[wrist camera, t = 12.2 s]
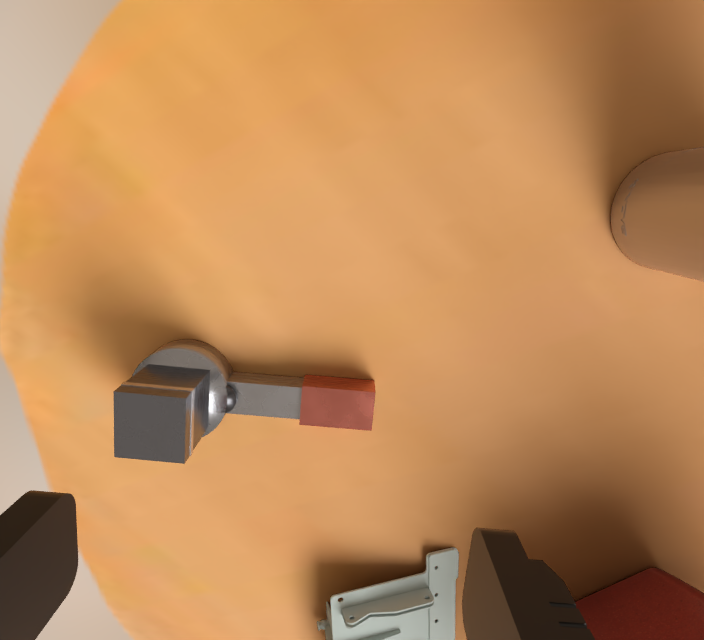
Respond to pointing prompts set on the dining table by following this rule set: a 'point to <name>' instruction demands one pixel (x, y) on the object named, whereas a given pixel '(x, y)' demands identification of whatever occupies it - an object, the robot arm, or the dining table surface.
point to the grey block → (161, 413)
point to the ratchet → (272, 390)
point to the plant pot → (645, 609)
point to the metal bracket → (399, 606)
